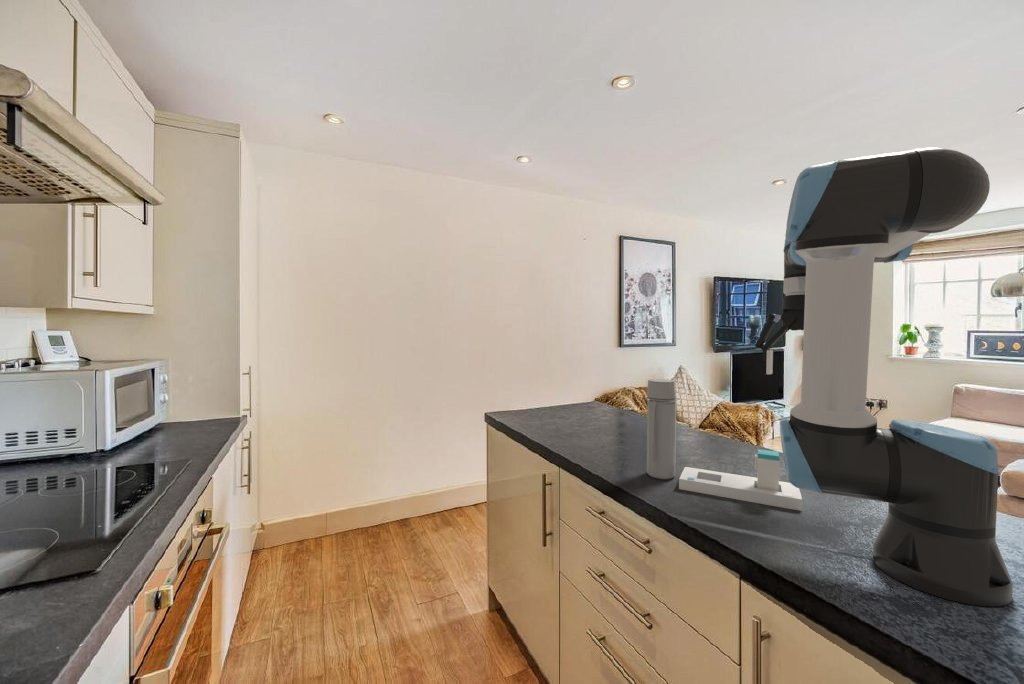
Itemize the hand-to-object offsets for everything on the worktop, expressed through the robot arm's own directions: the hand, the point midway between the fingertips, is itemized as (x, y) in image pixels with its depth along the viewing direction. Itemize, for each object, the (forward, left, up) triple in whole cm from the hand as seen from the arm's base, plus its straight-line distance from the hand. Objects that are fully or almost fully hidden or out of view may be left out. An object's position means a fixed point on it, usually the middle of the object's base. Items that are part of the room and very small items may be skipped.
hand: (798, 376), depth 110 cm
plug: (-23, +7, -25) cm, 35 cm away
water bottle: (-20, +31, -26) cm, 45 cm away
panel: (-23, +13, -26) cm, 37 cm away
